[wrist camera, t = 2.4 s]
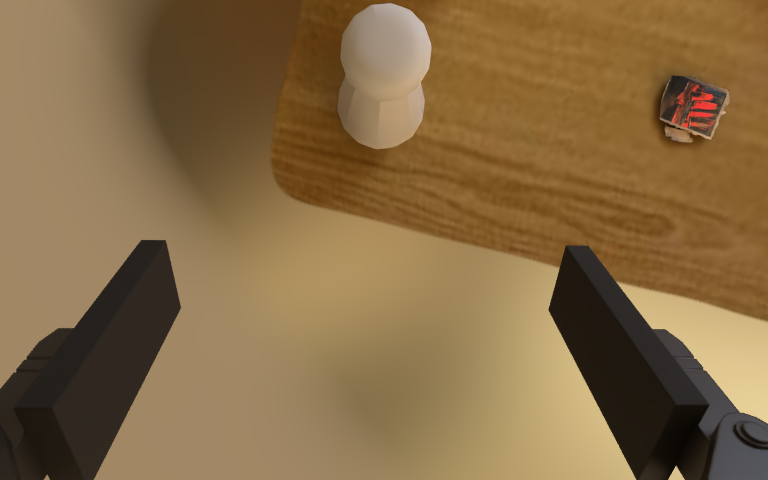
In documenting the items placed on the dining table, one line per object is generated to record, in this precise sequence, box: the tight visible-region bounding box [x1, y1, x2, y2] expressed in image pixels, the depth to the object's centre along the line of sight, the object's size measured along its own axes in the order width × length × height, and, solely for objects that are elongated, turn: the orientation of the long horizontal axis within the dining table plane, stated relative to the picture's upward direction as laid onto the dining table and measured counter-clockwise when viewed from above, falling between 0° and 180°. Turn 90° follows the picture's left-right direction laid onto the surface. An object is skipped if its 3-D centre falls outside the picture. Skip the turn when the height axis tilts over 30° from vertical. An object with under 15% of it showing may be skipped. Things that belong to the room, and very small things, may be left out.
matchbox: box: [660, 75, 730, 143], centre depth 35 cm, size 5×5×1 cm
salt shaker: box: [337, 3, 431, 149], centre depth 28 cm, size 6×6×13 cm
